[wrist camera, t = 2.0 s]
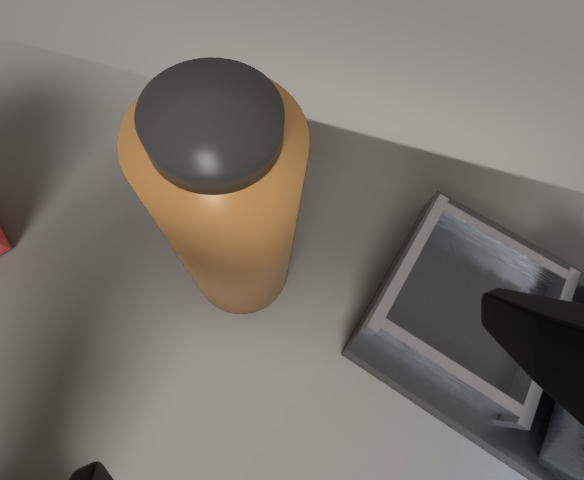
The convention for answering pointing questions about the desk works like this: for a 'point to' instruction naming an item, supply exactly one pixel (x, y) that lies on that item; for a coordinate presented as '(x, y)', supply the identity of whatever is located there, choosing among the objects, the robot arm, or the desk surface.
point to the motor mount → (470, 338)
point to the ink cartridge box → (4, 243)
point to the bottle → (220, 174)
